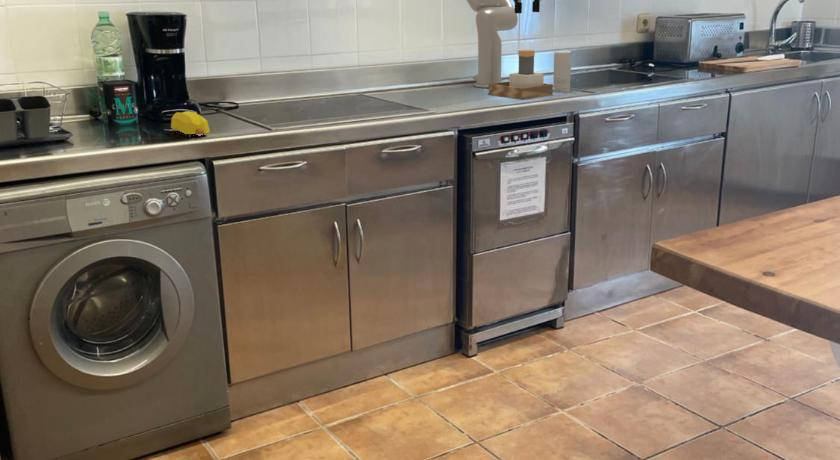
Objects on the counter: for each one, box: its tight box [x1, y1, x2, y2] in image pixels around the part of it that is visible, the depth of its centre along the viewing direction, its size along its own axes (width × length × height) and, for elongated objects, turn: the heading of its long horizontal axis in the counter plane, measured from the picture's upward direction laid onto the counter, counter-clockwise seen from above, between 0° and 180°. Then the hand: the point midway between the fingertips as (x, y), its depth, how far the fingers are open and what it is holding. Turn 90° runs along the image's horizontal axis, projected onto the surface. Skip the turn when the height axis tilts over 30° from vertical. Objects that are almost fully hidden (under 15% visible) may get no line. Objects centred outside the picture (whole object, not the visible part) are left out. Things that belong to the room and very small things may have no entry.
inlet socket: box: [508, 72, 545, 88], centre depth 309 cm, size 9×9×8 cm
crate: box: [488, 81, 554, 101], centre depth 310 cm, size 18×16×5 cm
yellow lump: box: [170, 110, 211, 135], centre depth 248 cm, size 18×7×8 cm
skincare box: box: [553, 50, 572, 93], centre depth 319 cm, size 8×7×16 cm
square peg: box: [518, 49, 536, 75], centre depth 307 cm, size 4×4×12 cm
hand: (527, 12), depth 311 cm, fingers open, 9 cm apart
